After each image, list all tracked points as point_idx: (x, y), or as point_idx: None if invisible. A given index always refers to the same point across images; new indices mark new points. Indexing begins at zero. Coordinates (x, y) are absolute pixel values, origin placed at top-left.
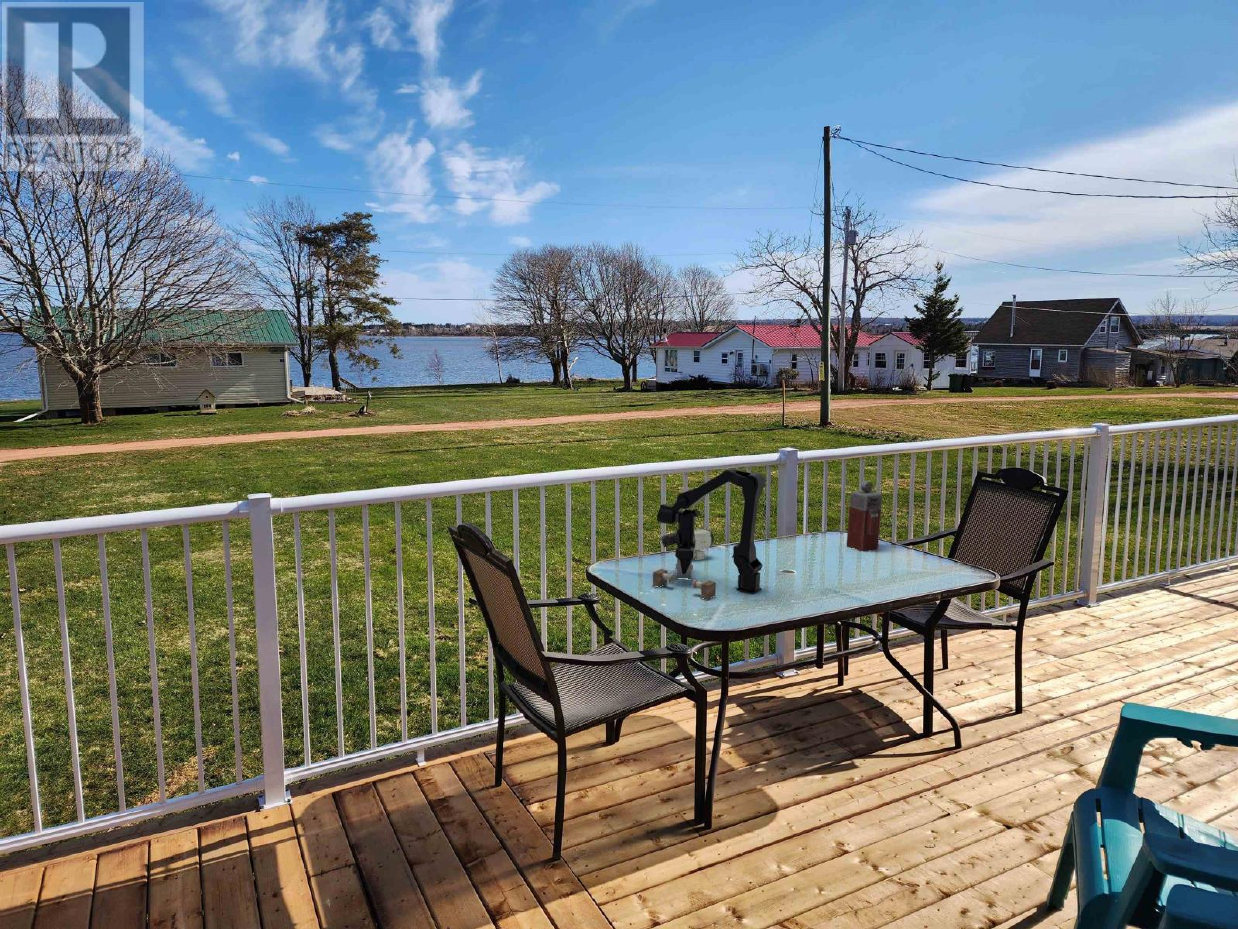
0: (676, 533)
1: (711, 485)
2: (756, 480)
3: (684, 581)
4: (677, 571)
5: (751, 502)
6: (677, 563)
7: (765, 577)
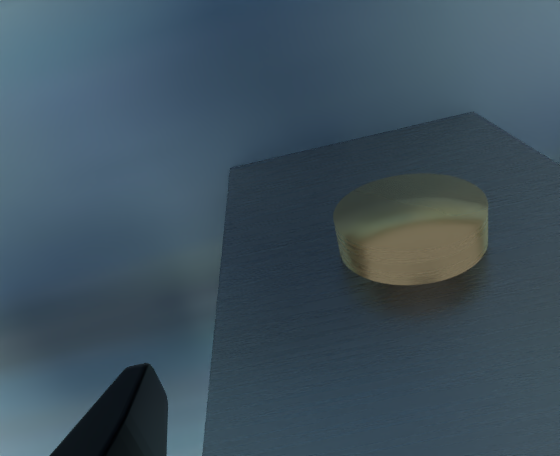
0: None
1: None
2: None
3: (188, 295)
4: (225, 252)
5: None
6: (215, 399)
7: None
